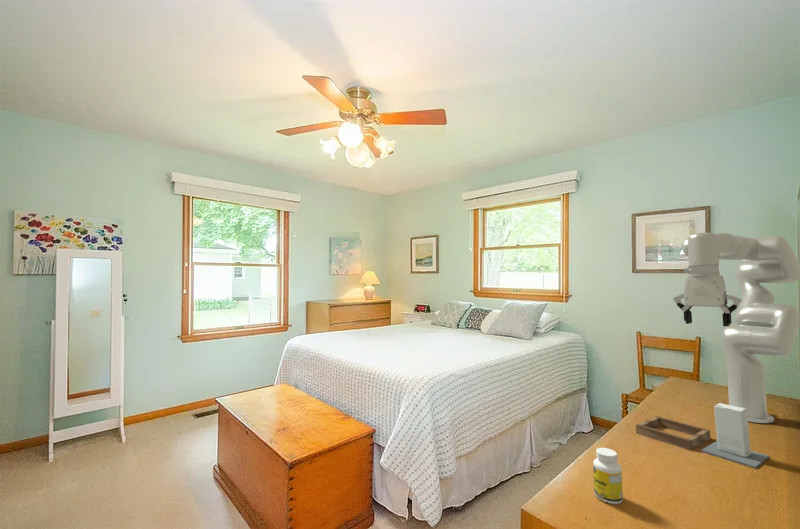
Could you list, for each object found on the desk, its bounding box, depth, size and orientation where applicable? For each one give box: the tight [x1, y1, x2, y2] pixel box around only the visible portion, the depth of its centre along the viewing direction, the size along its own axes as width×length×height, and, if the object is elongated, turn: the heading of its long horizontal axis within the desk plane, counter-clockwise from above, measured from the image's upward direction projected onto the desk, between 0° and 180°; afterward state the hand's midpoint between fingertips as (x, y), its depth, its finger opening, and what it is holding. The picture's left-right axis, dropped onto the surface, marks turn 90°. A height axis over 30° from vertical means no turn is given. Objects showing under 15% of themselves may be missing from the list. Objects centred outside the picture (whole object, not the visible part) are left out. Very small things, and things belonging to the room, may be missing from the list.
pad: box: [701, 440, 770, 470], centre depth 98 cm, size 11×11×1 cm
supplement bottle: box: [592, 447, 624, 505], centre depth 79 cm, size 5×5×10 cm
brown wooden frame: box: [635, 415, 711, 451], centre depth 111 cm, size 14×14×2 cm
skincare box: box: [713, 402, 752, 457], centre depth 99 cm, size 6×4×12 cm
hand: (707, 324), depth 116 cm, fingers open, 9 cm apart
